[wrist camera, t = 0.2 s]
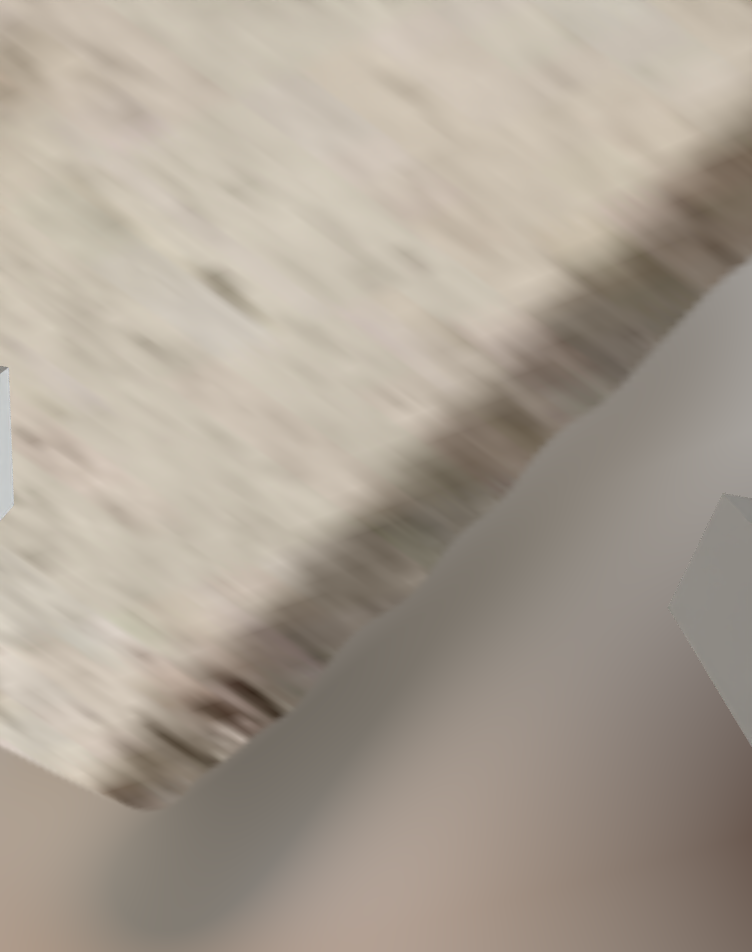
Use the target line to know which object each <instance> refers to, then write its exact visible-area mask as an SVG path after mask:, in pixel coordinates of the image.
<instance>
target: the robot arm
mask: <svg viewBox="0 0 752 952" xmlns="http://www.w3.org/2000/svg"><path fill="white" fill-rule="evenodd" d="M13 505H14V495H13V468H12V442H11V415H10V388H9V367H3V366H0V520H1V519H2V518H3V517H4V516H5V515H6V513H7V512H8V511H9V510H10V509H11V508H12V507H13ZM668 609H669V610H670V612H671V614H672V615H673V617H674V619H675V620H676V622H677V624H678V625H679V627H680V629H681V630H682V632H683V634H684V635H685V637H686V639H687V640H688V642H689V644H690V645H691V647H692V649H693V650H694V652H695V654H696V655H697V657H698V659H699V660H700V662H701V663H702V665H703V667H704V668H705V670H706V672H707V673H708V675H709V677H710V678H711V680H712V682H713V683H714V685H715V687H716V688H717V690H718V692H719V693H720V695H721V697H722V698H723V700H724V702H725V703H726V705H727V706H728V708H729V710H730V711H731V713H732V715H733V717H734V718H735V720H736V721H737V723H738V725H739V726H740V728H741V730H742V731H743V733H744V735H745V736H746V738H747V740H748V741H749V743H750V745H751V746H752V498H747V497H740V496H735V495H730V494H724V493H723V494H722V496H721V498H720V500H719V502H718V504H717V507H716V508H715V511H714V513H713V515H712V517H711V519H710V521H709V523H708V525H707V527H706V529H705V531H704V533H703V536H702V538H701V540H700V542H699V544H698V546H697V548H696V550H695V552H694V554H693V556H692V558H691V560H690V563H689V565H688V567H687V569H686V571H685V573H684V575H683V577H682V579H681V581H680V583H679V585H678V588H677V590H676V592H675V594H674V596H673V598H672V600H671V602H670V604H669V606H668Z"/></svg>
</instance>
